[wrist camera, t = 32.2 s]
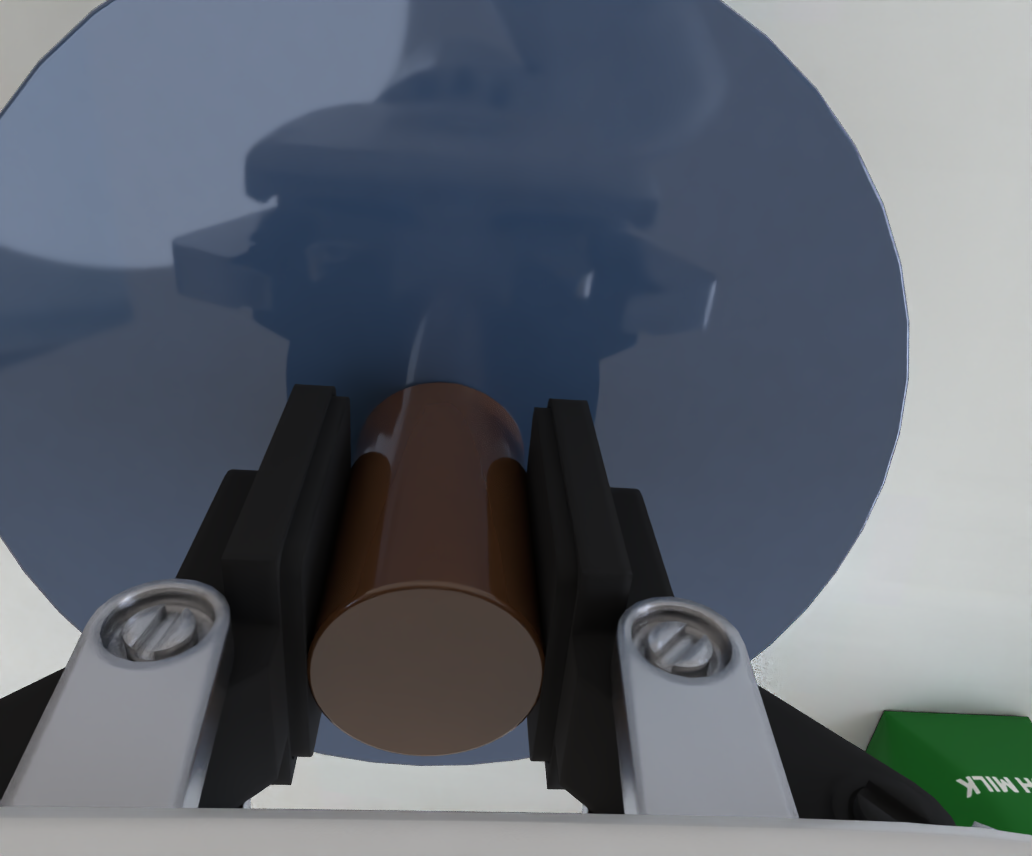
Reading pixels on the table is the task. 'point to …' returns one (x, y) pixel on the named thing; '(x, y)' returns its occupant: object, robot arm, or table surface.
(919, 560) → the table surface
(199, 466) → the crock lid
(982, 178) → the table surface
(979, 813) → the milk carton
